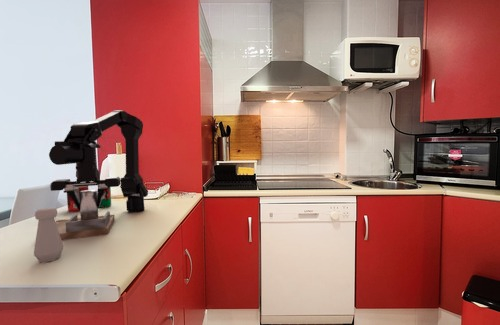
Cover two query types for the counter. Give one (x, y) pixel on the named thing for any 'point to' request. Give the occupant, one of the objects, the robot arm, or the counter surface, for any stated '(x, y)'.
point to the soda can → (106, 198)
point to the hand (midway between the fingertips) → (89, 208)
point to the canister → (88, 204)
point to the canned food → (70, 202)
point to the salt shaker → (47, 236)
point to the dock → (84, 226)
